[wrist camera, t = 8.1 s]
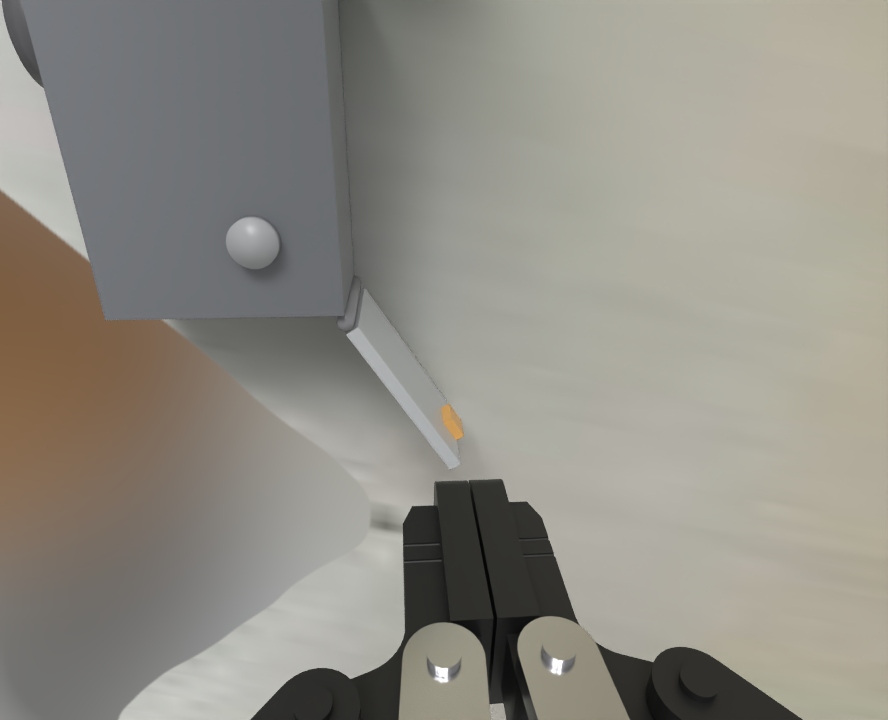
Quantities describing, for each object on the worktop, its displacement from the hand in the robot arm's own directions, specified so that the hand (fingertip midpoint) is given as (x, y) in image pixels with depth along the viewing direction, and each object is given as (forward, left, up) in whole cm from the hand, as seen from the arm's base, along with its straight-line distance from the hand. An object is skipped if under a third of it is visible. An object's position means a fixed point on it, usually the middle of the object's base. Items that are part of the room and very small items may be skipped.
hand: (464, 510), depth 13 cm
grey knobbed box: (-7, -10, -26) cm, 29 cm away
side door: (+7, -1, -26) cm, 27 cm away
